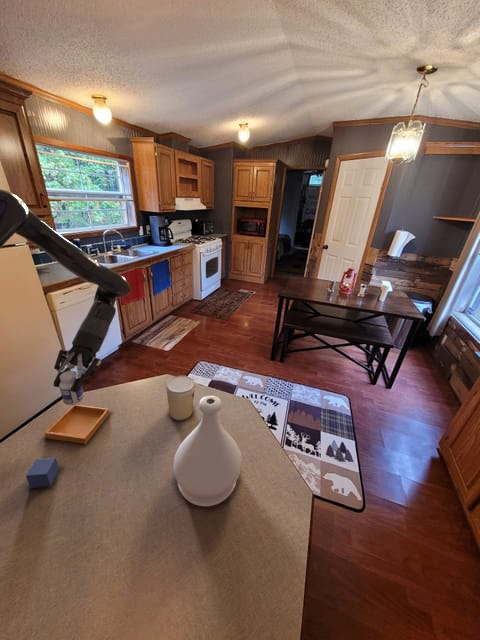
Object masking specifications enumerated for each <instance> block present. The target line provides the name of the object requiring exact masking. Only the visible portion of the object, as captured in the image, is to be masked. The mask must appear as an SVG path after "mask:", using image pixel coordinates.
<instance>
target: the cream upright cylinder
mask: <svg viewBox="0 0 480 640" xmlns="http://www.w3.org/2000/svg"><path fill="white" fill-rule="evenodd" d="M195 388H196V383H195V381H194V380H193V378H191V377H190V376H187V375H177V376H173V377H171V378H170V379H168V381H167V382H166V385H165V390H166V397H167V404H168V411H169V416H170V417H171V418H172V419H174V420H176V421H183V420H186V419H188V418H190V417H191V416H192V414H193V410H194V398H195Z"/></svg>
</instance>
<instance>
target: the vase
mask: <svg viewBox="0 0 480 640" xmlns="http://www.w3.org/2000/svg"><path fill="white" fill-rule="evenodd" d="M222 405H223V403H222V400H221V399H220V398H219V397H218V396H216V395H205V396H203V397H201V399H200V400H199V402H198V408H199V410H200V412H202V416H201V420H200V422H199V423H198V424H197V426H195V428H194V429H193V430H192V431H191V432H190V433H189V434H188V435H187V436H186V438H184V439H183V441H182V442H181V444H180V445H179V447H178V448H177V450H176V453H175V455H174V458H173V473H174V477H175V480H176V482H177V486H178V489H179V492H180V493H181V495H182V497H184V499H185V500H187V501H188V502H189V503H191V504H193V505H195V506H198V507H212V506H215V505H218V504H221V503H222V502H224V501H225V500H226V499H228V498H229V497H230V496H231V494H232V493H233V491H234V490H235V487H236V484H237V480H238V479H239V477H240V475H241V471H242V465H243V459H242V453H241V450H240V448H239V445H238V444H237V442H236V441H235V440H234V438H233V437H232V436H231V435H230V434H229V432H228V431H227V430H226V428H224V427H223V425H222V424H221V422H220V421H219V417H218V413H219V411H221V409H222Z"/></svg>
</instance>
